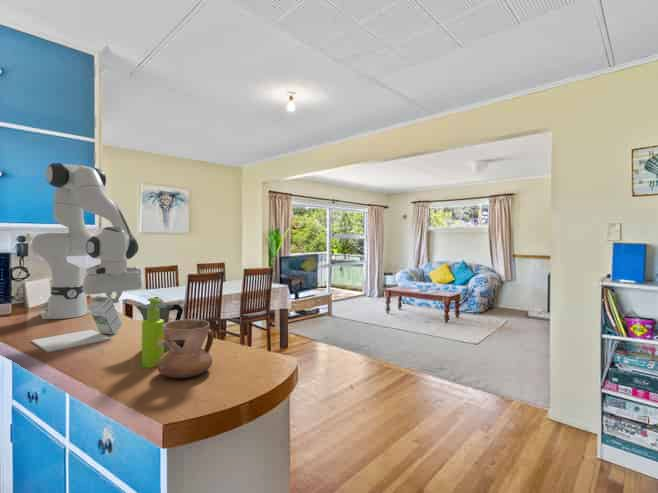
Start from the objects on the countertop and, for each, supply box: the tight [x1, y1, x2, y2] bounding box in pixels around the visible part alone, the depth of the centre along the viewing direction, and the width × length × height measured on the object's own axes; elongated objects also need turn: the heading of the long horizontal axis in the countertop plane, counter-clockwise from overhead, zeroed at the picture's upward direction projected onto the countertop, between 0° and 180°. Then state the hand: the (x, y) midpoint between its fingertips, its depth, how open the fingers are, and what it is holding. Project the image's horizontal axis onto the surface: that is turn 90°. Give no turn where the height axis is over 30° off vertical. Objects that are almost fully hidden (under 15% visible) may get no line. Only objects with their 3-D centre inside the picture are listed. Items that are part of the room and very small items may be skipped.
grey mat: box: [30, 329, 112, 353], centre depth 127 cm, size 18×19×1 cm
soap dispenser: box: [141, 297, 165, 369], centre depth 105 cm, size 6×7×20 cm
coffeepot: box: [135, 296, 184, 353], centre depth 118 cm, size 15×9×18 cm, turn 92°
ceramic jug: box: [156, 318, 215, 379], centre depth 99 cm, size 18×14×14 cm
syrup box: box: [87, 296, 123, 335], centre depth 134 cm, size 6×6×14 cm
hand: (113, 303), depth 138 cm, fingers closed
